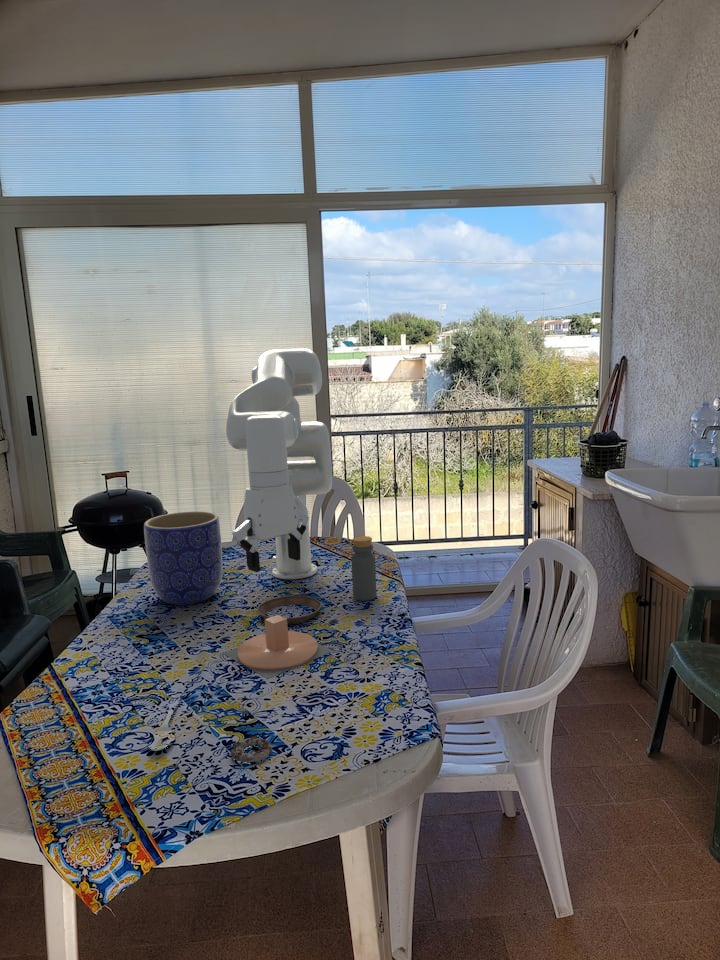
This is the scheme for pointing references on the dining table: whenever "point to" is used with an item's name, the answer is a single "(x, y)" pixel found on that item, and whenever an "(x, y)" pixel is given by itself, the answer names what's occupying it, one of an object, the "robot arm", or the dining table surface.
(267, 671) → the mat
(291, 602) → the brown ring
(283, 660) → the lid
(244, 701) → the dining table surface
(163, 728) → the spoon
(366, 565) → the bottle
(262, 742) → the donut
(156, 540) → the planter
